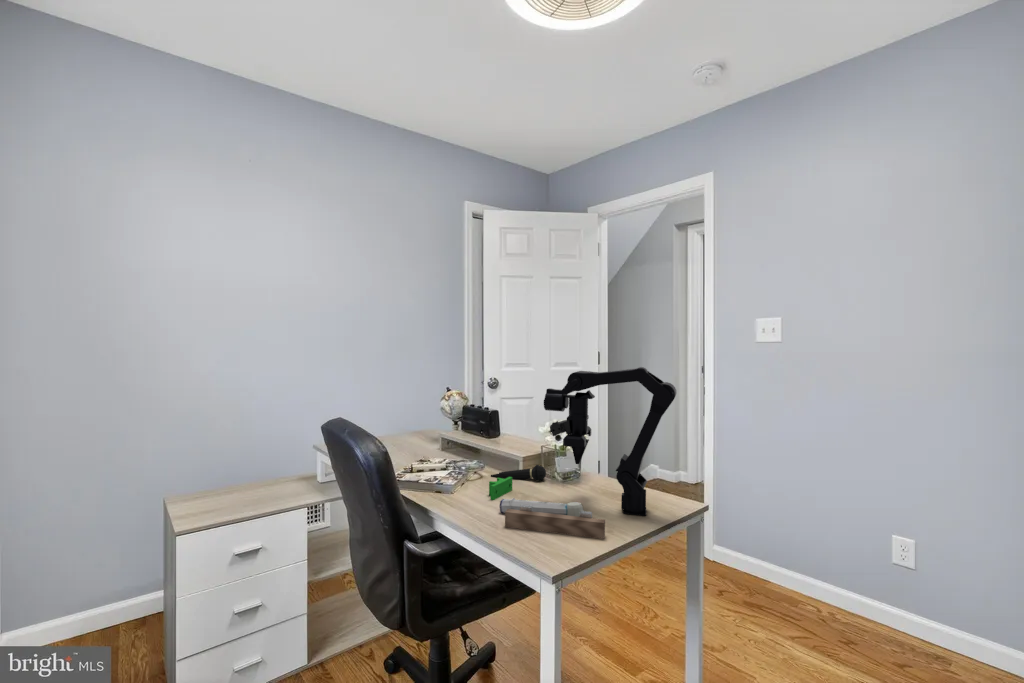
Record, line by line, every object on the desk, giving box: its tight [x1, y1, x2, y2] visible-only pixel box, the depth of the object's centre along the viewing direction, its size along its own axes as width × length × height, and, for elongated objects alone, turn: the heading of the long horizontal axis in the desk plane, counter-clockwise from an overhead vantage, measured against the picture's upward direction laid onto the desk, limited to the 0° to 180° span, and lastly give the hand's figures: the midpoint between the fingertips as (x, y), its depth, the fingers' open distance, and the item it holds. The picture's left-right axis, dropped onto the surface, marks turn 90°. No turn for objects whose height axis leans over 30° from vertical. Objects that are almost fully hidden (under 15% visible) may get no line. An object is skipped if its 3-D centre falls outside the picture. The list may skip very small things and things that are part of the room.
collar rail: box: [504, 505, 606, 540], centre depth 127 cm, size 26×4×5 cm, turn 75°
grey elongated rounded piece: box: [499, 497, 584, 517], centre depth 134 cm, size 5×7×25 cm
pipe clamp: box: [488, 477, 513, 501], centre depth 155 cm, size 11×4×5 cm, turn 149°
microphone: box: [490, 464, 547, 482], centre depth 171 cm, size 6×6×20 cm
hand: (577, 463), depth 147 cm, fingers closed
